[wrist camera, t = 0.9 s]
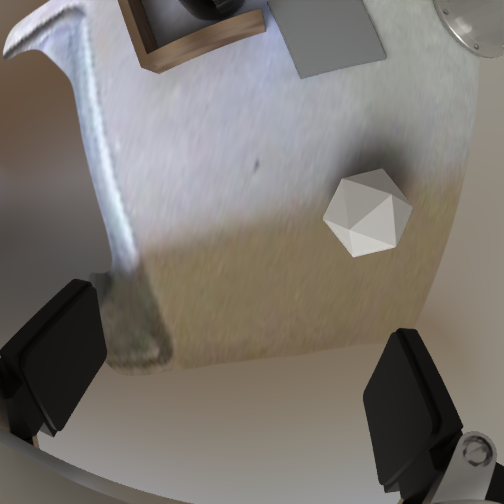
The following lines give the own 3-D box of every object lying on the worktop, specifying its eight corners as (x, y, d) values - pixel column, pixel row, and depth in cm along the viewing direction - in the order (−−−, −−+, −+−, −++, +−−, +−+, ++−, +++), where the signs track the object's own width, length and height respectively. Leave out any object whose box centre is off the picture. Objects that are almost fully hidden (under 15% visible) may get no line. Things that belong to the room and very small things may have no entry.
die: (308, 221, 35) (352, 287, 30) (314, 159, 29) (373, 227, 23) (365, 203, 37) (411, 260, 31) (379, 145, 30) (439, 203, 24)
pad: (350, -15, 23) (351, -17, 23) (384, 59, 27) (386, 58, 26) (267, 2, 25) (267, 1, 25) (300, 79, 29) (300, 78, 28)
